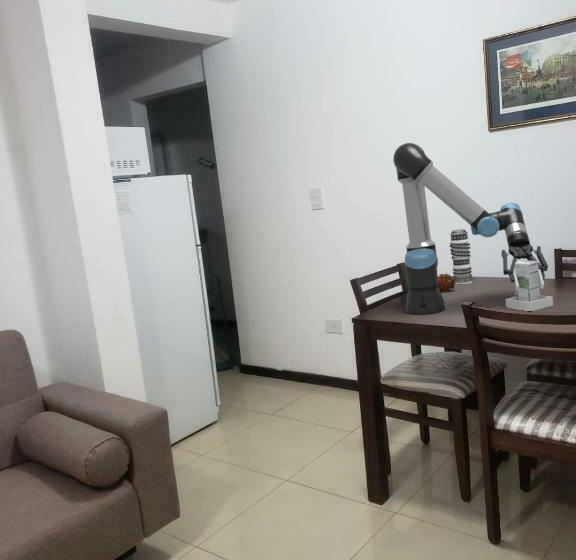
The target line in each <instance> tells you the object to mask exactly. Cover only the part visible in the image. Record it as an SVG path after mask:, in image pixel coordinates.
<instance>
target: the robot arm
mask: <svg viewBox="0 0 576 560" xmlns="http://www.w3.org/2000/svg"><path fill="white" fill-rule="evenodd" d="M392 161H393V165H394V167H395V168H396V175H397V181H398V182H399V183H400V184H401V186H402V192H403V202H404V210H405V217H406V226H407V233H408V241H409V242H408V244H407V246H406V247H405V248H406V252H405V254H404V264H405V271H406V280H407V282H406V283H407V296H406V302H405V306H404V307H405V312H406V313H408V314H411V313H412V314H413V315H428V314H434V313H439V312H442V311H444V310H446V302H445V300H444V298H443V295H442V292H440V291H439V286H438V276H439V275H438V266H439V259H438V256H437V248H436V247H437V246H436V242H434V241H433V240H432V237H431V231H430V221H429V214H428V205H427V197H426V189H427V190H428V191H430V192H431V193H432V194H433V195H435V197H437V198H438V199H439V200H440V201H441V202H443V204H445V205H446V206H447V207H449V208H450V209H451V210H452V211H453V212H454V213H456V215H457V216H459V217H460V218H461V219H462V220H463V221H465V222H466V223H468V225H470V229H471V234H472V235H474V236H477V235H478V236H479V235H480V236H481V237H484V238H492V237H494V236H496V235H497V234H498V232H499V231H504V233H505V237H506V242H507V246H508V249H502V250H501V254H500V255H501V257H502V266H503V267H502V269H503V275H504V276H506V275H508V277H509V279H510V282H511V283H513V284H514V287H515V291H518V289H519V284H518V280H517V276H516V272H515V271H514V270H515V263H516V262H518V261H517V260H522V259H524V260H525V259H526V261H538V272H539V288H540V289H544V287H545V282H544V280H545V277H546V274H545V272H547V271H548V267H549V264H548V263H547V261H546V258H545V257H544V254H543V253H542V250H541V249H542V247H541V246H540V245H538V246H537V247H534V246H532V244H531V243H530V238H529V235H528V230H527V226H526V224H525V218H524V216H523V211H522V210H521V207H520V205H519V204H518V203H515V202H507V203H505V204H503V205H502V206H500V209H499V211H495V212H488V211H487V210H485V209H484V208H483V206H481V205H480V204H478V203H477V202H476V200H474V199H473V198H472V197H470V196H469V195H468V194H467V193H466V192H465V191H463V190H462V188H460V187H459V186H458V185H456V184H455V183H454V182H453V181H452V180H450V179H449V178H448V177H447V176H446V175H445V174H443V173H442V172H441V171H440V170H439V169H438V168H436V167H435V166H434V162H433V160H432V159H430V158H429V157H428V156H427V155H426V153H425V151H424V149H423V148H422V147H421V146H419V145H418V144H416V143H413V142H406V143H403V144H401V145H399V146H398V147H397V148H396V149H395V151H394V153H393V159H392ZM425 188H426V189H425ZM532 252H533V253H534V254H535V255H536V258H537V259H536V258H535V256H534V255H533V253H532ZM509 255H510V256H512V257H513V259H512V260H511V264H510V267H509V269H508V256H509ZM412 314H411V315H412Z"/></svg>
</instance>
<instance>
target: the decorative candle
mask: <svg viewBox="0 0 576 560" xmlns="http://www.w3.org/2000/svg"><path fill="white" fill-rule="evenodd" d="M468 233H469V232H468V231H467V230H466V229H464V228H462V229H454V230H452V231H451V233H450V242H449V248H450V250H449V251H450V255H451V260H452V262H453V264H452V267H453V268H452V271H453V272H452V274H453V276H452V277H453V278H454V281H455V283H456V284H455V285H458V284H462V285H469V283H470V284H472V283H473V274H472V267H471V262H470V258H471V257H472V255H471V251H469V250H470V249H471V243H470V242H469V236H468Z"/></svg>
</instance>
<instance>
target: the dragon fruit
mask: <svg viewBox="0 0 576 560" xmlns="http://www.w3.org/2000/svg"><path fill="white" fill-rule="evenodd" d="M455 285H457V284H456V283H455V281H454V278H453V276H451V275H450V274H449V273H444V274H443V273H440V274H439V275H438V286H439V291H440V293H442V292H443V291H445V292H450V290H452V289H454V288H455V287H456V286H455Z"/></svg>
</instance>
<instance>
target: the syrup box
mask: <svg viewBox="0 0 576 560" xmlns="http://www.w3.org/2000/svg"><path fill="white" fill-rule="evenodd" d="M538 262H539V260H537V261H528V260H525V259H524V260H520V261H519V260H518V261H516V263H515V268H514V270H515V271H514V272H516V276H517V280H518V284H519V289H518V291H517V300H519V301H526V302H531V301H535V300H539V299H540V295H541V291H540V289H541V288H540V283H539V272H538Z"/></svg>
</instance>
